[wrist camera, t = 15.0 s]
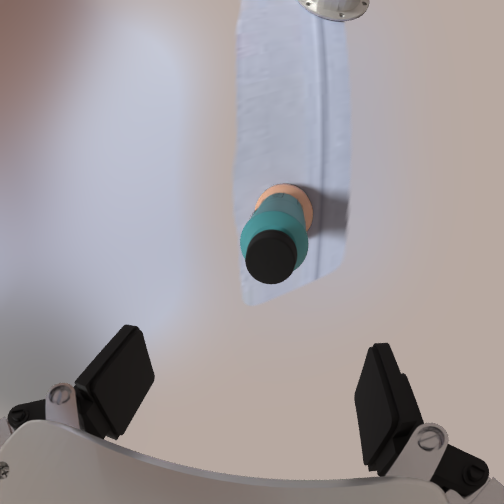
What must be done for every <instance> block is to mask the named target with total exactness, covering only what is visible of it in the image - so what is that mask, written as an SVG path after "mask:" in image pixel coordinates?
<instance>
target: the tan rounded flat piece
mask: <svg viewBox="0 0 504 504" xmlns="http://www.w3.org/2000/svg"><path fill="white" fill-rule="evenodd" d="M281 192H282V193H286V194H289V195H291V196H293V197H295V198H296V199H297V200H298V201H299V202H300V203H301V205H302V208H303V212H304V217H305V221H306V230H307V231H308V229H309V228H310V226H311V223H312V219H313V209H312V205H311V203H310V200H309V198H308V196H307V195H306V194H305V193H304V191H302V190H301V189H300V188H298V187H297V186H295V185H292V184H285V183H283V184H276V185H274V186H272V187H270V188H268V189H267V190H266V191H265V192H264V193H263V194H262V195H261V197H260V198H259V200H258V202H257V204H256V207H255V211H256V209H258V207H259V206H260V205H261V203H262V202H263V201H264V200H265V199H266V198H267V197H268V196H270V195H272V194H275V193H281ZM269 194H270V195H269ZM263 199H264V200H263ZM262 200H263V201H262ZM261 201H262V202H261ZM307 231H306V232H307Z"/></svg>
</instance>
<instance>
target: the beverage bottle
mask: <svg viewBox="0 0 504 504" xmlns="http://www.w3.org/2000/svg"><path fill="white" fill-rule="evenodd" d="M269 195H270V194H269ZM263 200H264V199H263ZM263 200H262V201H263ZM262 201H261V202H262ZM253 213H254V214H252V215H253V216H251V219H250V220H249V221H248V222H247V224H246V225H245V227H244V228H243V231H242V234H241V239H240V246H241V251H242V254H243V256H244V258H245V262H246V267H247V269H248V271H249V273H250V274H251V275H252V277H254V278H255V279H256V280H258V281H260V282H262V283H265V284H277V283H280V282H283V281H284V280H286V279H287V278H288V277H289V276H290V275H291V274H292V272H293V271H294V270H295V269H297V268H298V267H299V266H300V265H301V264H302V262H303V261H304V259H305V257H306V255H307V252H308V236H307V233H306V231H307V230H306V221H305V217H304V212H303V208H302V205H301V203H300V202H299V201H298V200H297V199H296V198H295V197H293V196H291V195H289V194H286V193H282V192H281V193H275V194H272V195H270V196H268V197H267V198H266V199H265V200H264V201H263V202H262V203H261V205H260V206H259V207H258V209H256V211H255V212H253Z"/></svg>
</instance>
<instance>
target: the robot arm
mask: <svg viewBox="0 0 504 504" xmlns="http://www.w3.org/2000/svg"><path fill="white" fill-rule="evenodd" d="M298 2H299V3H300V4H301V5H302V6H303V7H304V8H305V9H306V10H308V11H309V12H311V13H312V14H315V15H317V16H319V17H322V18H325V19H329V20H334V21H347V20H353V19H356V18H358V17H360V16H362V15H363V14H364V13H365V12H366V10H367V8H368V6H369V0H298ZM340 16H341V17H340ZM154 377H155V375H154V372H153V369H152V365H151V362H150V358H149V355H148V351H147V348H146V344H145V340H144V336H143V333H142V331H141V330H139V328H138V327H137V326H132V325H124V326H123V327H122V328H121V329H120V330H119V332H118V333H117V334H116V335H115V336H114V337H113V338H112V339H111V340H110V342H109V343H108V344H107V345H106V346H105V347H104V348H103V350H102V351H101V352H100V353H99V354H98V355H97V356H96V357H95V359H94V360H93V361H92V362H91V363H90V364H89V366H88V367H87V368H86V369H85V371H83V373H82V374H81V375H80V376H79V377H78V378H77V380H76V381H75V384H76V385H75V386H74V387H73V386H72V385H70V384H68V383H59V384H55V385H54V386H52V387H51V388H50V389H49V390H48V391H47V393H46V399H43V400H39V401H34V402H30V403H25V404H20V405H17V406H15V407H14V408H12V409H11V410H10V412H9V414H8V419H6V417H3V418H1V419H0V504H504V486H503V485H502V484H501V483H500V482H498V481H497V480H496V479H495V478H494V477H493V478H492V479H490V478H489V477H488V476H489V469H488V466H487V464H486V463H485V462H484V461H483V460H481V459H479V458H477V457H475V456H473V455H470V454H468V453H466V452H464V451H462V450H460V449H457V448H456V447H454V446H451V445H449V444H448V434H447V432H446V431H445V429H444V428H443V427H441V426H440V425H438V424H435V423H425V424H424V422H423V419H422V417H421V413H420V410H419V408H418V405H417V402H416V399H415V397H414V394H413V391H412V389H411V386H410V383H409V381H408V378H407V376H406V375H405V374H404V373H403V374H401V373H400V370H399V367H398V365H397V362H396V360H395V357H394V355H393V352H392V350H391V348H390V345H389V344H388V343H375V344H374V345H373V347H370V348H369V349H368V353H367V356H366V359H365V363H364V366H363V370H362V373H361V376H360V379H359V382H358V385H357V388H356V391H355V406H356V412H357V418H358V425H359V431H360V438H361V446H362V453H363V461H364V465H368V469H369V471H377V474H378V475H379V476H380V477H369V478H354V479H340V480H280V479H265V478H254V477H245V476H238V475H230V474H224V473H218V472H213V471H207V470H202V469H197V468H193V467H188V466H184V465H180V464H176V463H172V462H168V461H165V460H161V459H157V458H154V457H151V456H148V455H145V454H141V453H139V452H136V451H132V450H130V449H127V448H124V447H121V446H119V445H116V444H114V443H111V442H108V441H106V440H104V438H105V436H107V437H110V438H112V439H115V440H117V439H118V437H119V436H120V435H123V434H124V432H125V431H126V429H127V427H128V425H129V424H130V422H131V420H132V418H133V417H134V415H135V413H136V411H137V409H138V408H139V406H140V404H141V402H142V401H143V399H144V397H145V396H146V394H147V392H148V391H149V389H150V387H151V385H152V384H153V382H154Z"/></svg>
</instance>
